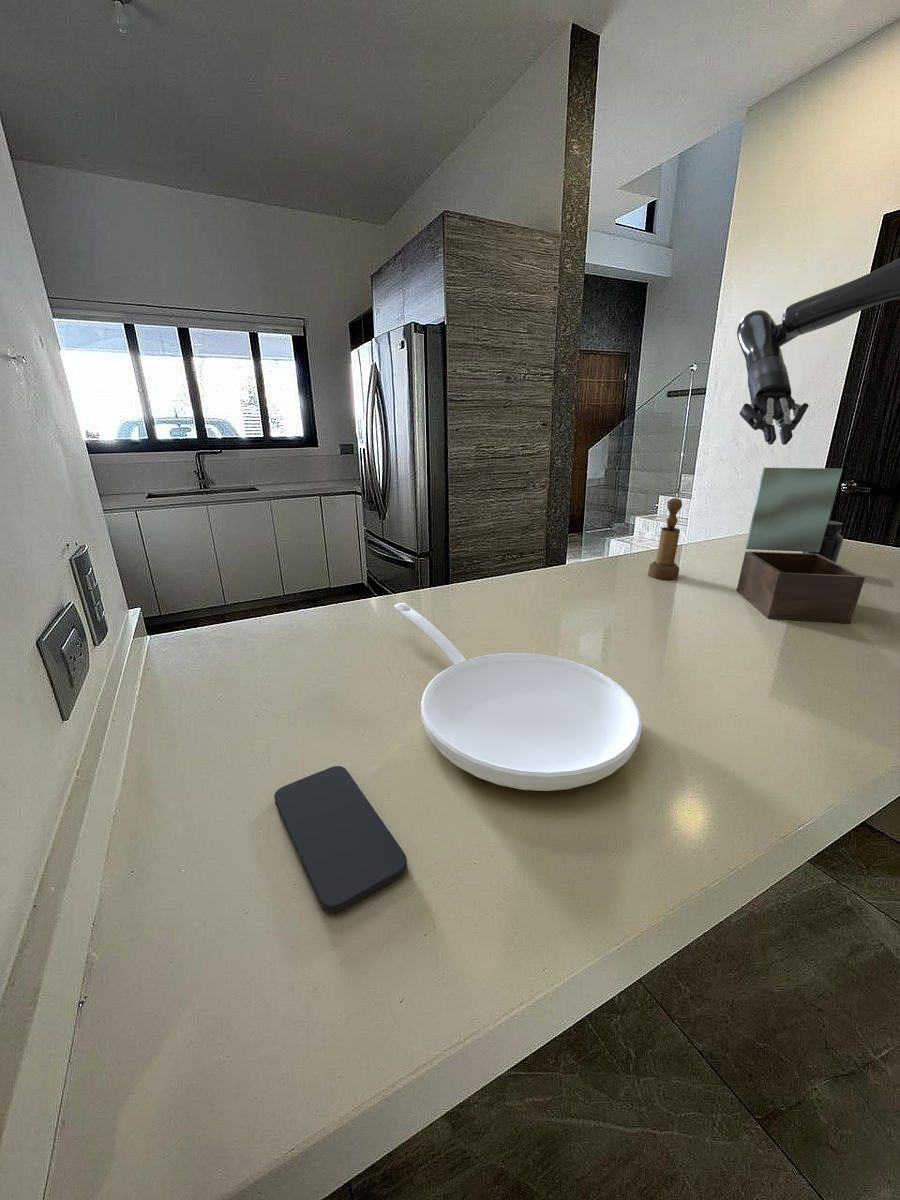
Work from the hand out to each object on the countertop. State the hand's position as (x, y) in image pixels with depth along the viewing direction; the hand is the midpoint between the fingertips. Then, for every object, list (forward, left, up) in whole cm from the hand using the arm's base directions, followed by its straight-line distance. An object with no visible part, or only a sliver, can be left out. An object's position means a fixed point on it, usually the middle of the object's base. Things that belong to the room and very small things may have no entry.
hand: (779, 441), depth 102 cm
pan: (+56, +63, -30) cm, 90 cm away
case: (0, +20, -30) cm, 36 cm away
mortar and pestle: (+20, +4, -30) cm, 36 cm away
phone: (+66, +88, -30) cm, 114 cm away
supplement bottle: (-17, -6, -30) cm, 35 cm away
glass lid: (0, +12, -13) cm, 18 cm away
